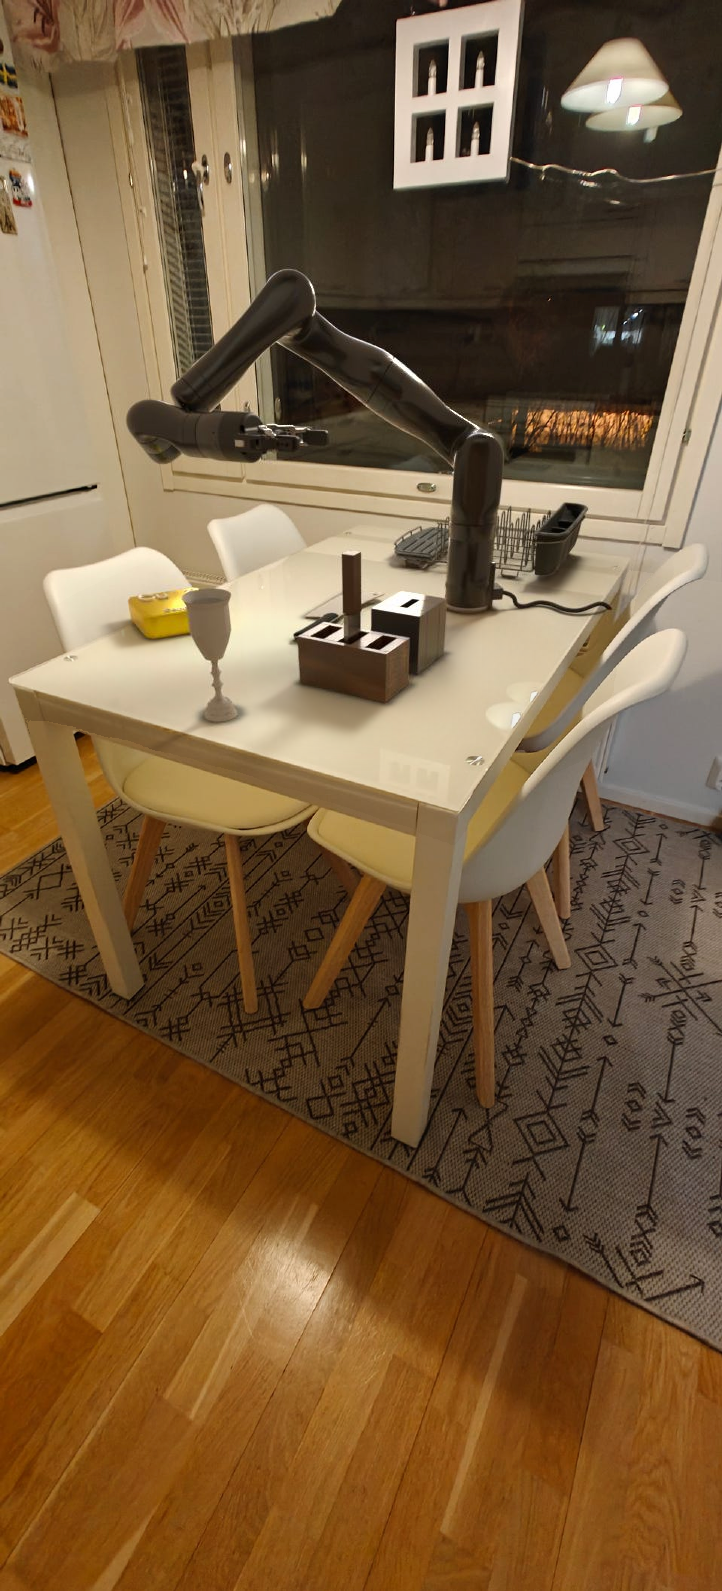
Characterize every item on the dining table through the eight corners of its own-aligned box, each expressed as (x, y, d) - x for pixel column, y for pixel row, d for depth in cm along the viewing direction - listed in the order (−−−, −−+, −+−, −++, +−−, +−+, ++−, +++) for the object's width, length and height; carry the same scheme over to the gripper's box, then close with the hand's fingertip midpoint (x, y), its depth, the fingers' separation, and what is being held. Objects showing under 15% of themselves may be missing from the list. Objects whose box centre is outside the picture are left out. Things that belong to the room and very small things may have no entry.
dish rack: (558, 586, 163) (566, 531, 157) (379, 566, 179) (379, 515, 172) (583, 552, 189) (591, 503, 183) (425, 536, 205) (427, 491, 198)
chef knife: (353, 678, 120) (352, 549, 109) (364, 680, 119) (363, 550, 108) (341, 687, 117) (338, 554, 106) (352, 689, 116) (350, 556, 105)
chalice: (200, 704, 111) (184, 589, 102) (244, 702, 112) (232, 587, 102) (195, 726, 105) (178, 605, 96) (242, 723, 106) (229, 603, 96)
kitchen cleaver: (346, 587, 160) (386, 588, 155) (347, 595, 161) (387, 596, 156) (266, 631, 137) (311, 633, 132) (268, 639, 138) (312, 642, 133)
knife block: (399, 644, 133) (400, 590, 127) (444, 653, 129) (447, 598, 124) (370, 664, 125) (370, 608, 119) (417, 674, 121) (419, 616, 116)
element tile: (148, 640, 135) (144, 616, 133) (129, 618, 146) (124, 594, 144) (224, 627, 141) (221, 603, 139) (200, 606, 152) (197, 584, 150)
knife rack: (325, 666, 124) (323, 621, 120) (408, 684, 117) (409, 637, 113) (299, 683, 118) (297, 636, 114) (385, 703, 112) (386, 654, 107)
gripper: (199, 414, 111) (286, 418, 105) (254, 407, 122) (336, 410, 115) (205, 467, 115) (290, 473, 109) (258, 456, 126) (337, 461, 119)
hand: (313, 441), depth 112 cm, fingers open, 8 cm apart
